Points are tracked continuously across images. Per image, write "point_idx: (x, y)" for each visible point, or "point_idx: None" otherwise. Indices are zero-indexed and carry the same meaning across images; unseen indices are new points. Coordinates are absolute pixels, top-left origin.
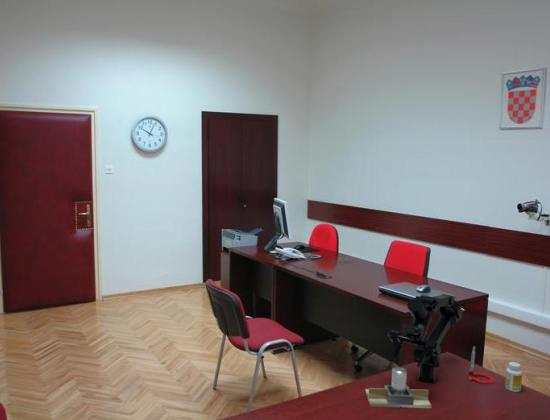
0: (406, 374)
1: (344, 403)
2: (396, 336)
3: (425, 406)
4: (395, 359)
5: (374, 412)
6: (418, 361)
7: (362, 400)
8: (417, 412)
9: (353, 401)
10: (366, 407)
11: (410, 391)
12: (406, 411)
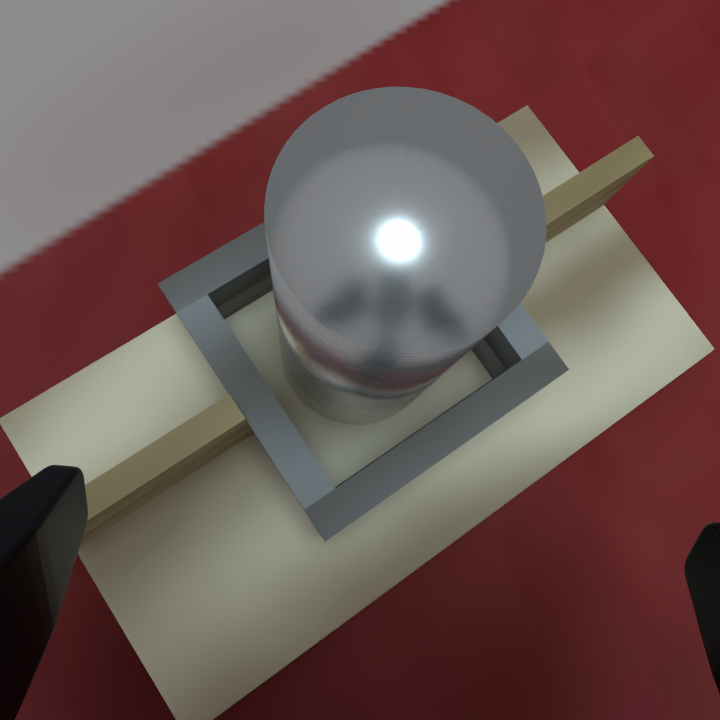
0: (267, 245)
1: (712, 56)
2: None
3: (62, 384)
4: (689, 587)
5: (446, 55)
6: (27, 536)
7: (627, 184)
8: (118, 262)
9: (676, 125)
10: (539, 93)
11: (235, 393)
12: (216, 221)
